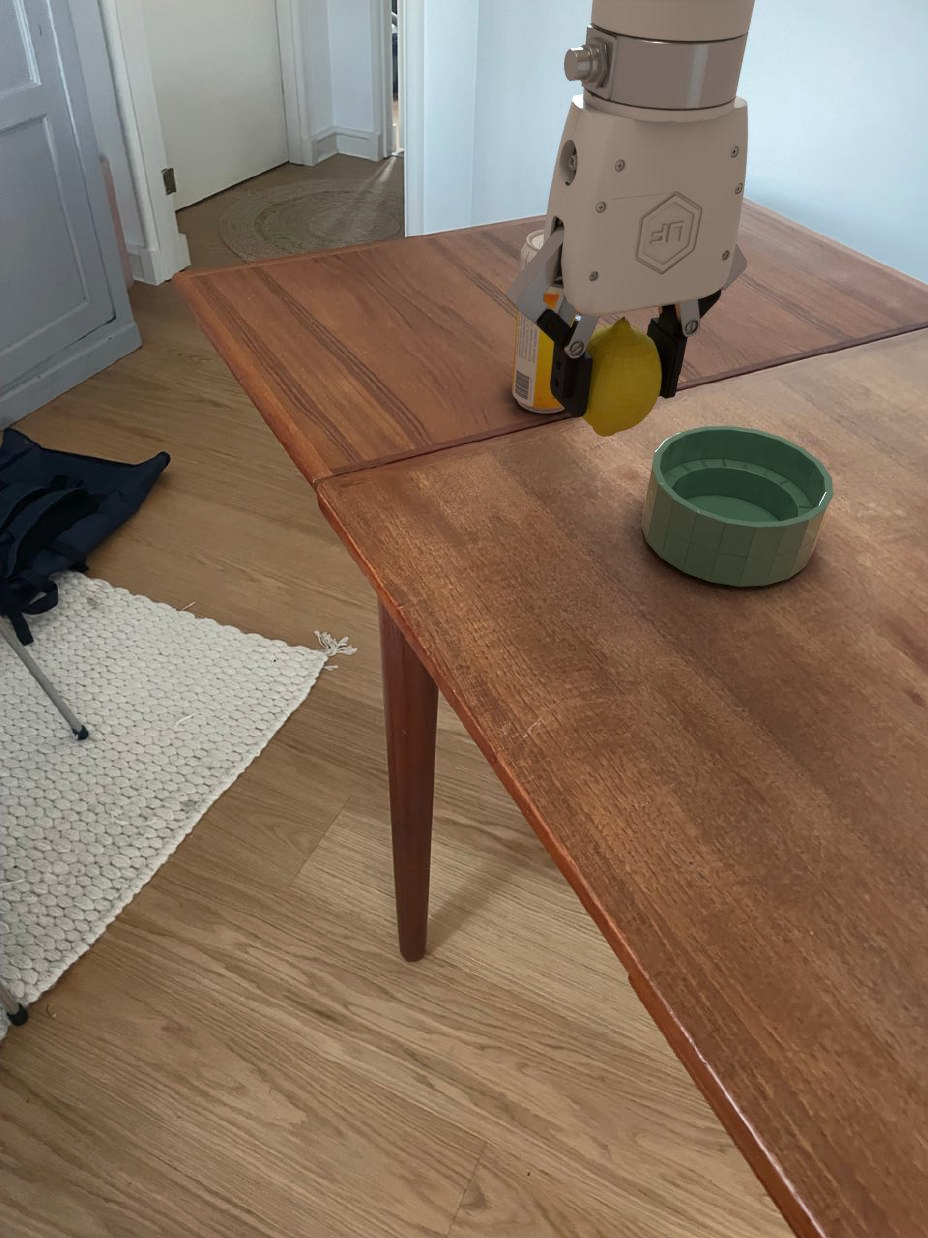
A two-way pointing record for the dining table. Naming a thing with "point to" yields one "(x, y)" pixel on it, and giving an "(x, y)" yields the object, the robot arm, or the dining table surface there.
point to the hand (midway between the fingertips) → (613, 394)
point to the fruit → (621, 378)
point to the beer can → (534, 347)
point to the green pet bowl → (735, 505)
